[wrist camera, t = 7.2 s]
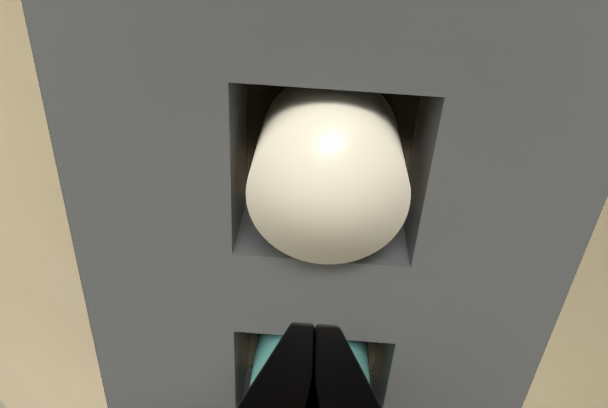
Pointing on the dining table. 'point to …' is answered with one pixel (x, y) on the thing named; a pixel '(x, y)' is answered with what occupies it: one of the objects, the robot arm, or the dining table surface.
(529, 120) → the console
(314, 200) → the cream button
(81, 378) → the dining table surface
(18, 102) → the dining table surface
